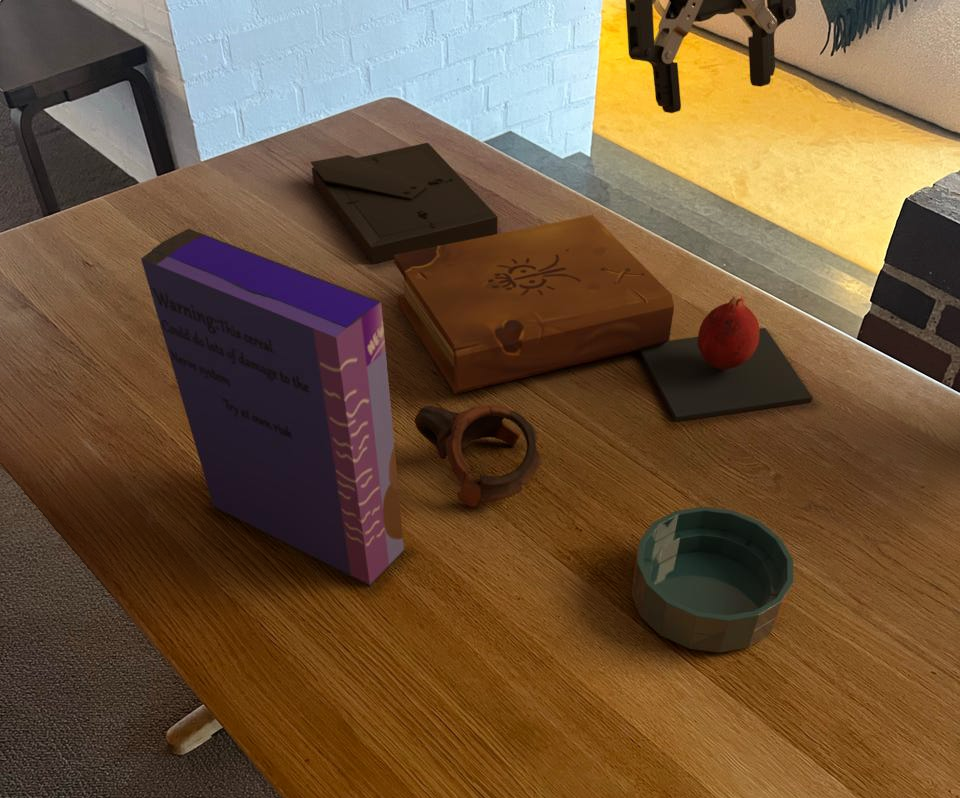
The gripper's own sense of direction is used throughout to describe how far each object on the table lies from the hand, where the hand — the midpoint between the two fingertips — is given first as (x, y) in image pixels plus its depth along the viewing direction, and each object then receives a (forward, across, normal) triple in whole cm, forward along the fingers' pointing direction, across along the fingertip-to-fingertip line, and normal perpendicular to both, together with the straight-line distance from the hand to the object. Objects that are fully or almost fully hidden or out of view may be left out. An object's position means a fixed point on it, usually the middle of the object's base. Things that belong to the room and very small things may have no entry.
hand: (716, 98), depth 86 cm
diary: (+19, -16, +13) cm, 28 cm away
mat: (+25, -2, 0) cm, 25 cm away
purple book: (+22, -46, -8) cm, 52 cm away
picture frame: (+10, -21, +41) cm, 47 cm away
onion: (+24, -2, 0) cm, 24 cm away
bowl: (+31, -18, -25) cm, 44 cm away
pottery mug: (+24, -29, -6) cm, 38 cm away
